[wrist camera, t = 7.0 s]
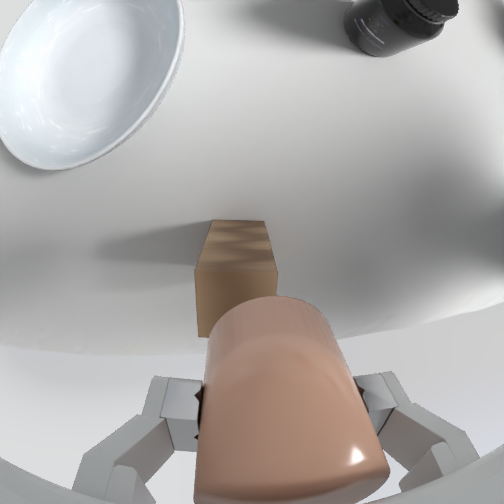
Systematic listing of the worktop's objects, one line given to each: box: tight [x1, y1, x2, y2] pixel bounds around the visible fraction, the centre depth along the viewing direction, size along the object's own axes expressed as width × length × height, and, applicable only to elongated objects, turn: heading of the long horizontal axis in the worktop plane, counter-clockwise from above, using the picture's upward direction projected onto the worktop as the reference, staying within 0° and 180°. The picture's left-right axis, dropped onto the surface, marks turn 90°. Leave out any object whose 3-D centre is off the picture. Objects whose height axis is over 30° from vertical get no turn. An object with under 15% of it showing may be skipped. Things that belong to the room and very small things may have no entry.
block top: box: [195, 248, 278, 338], centre depth 20 cm, size 5×5×4 cm
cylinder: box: [194, 296, 390, 504], centre depth 8 cm, size 5×5×6 cm
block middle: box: [203, 232, 271, 249], centre depth 24 cm, size 5×5×4 cm
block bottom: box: [209, 220, 267, 233], centre depth 28 cm, size 5×5×4 cm
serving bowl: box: [0, 0, 185, 171], centre depth 19 cm, size 21×21×7 cm
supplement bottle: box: [344, 0, 459, 57], centre depth 16 cm, size 7×7×12 cm
